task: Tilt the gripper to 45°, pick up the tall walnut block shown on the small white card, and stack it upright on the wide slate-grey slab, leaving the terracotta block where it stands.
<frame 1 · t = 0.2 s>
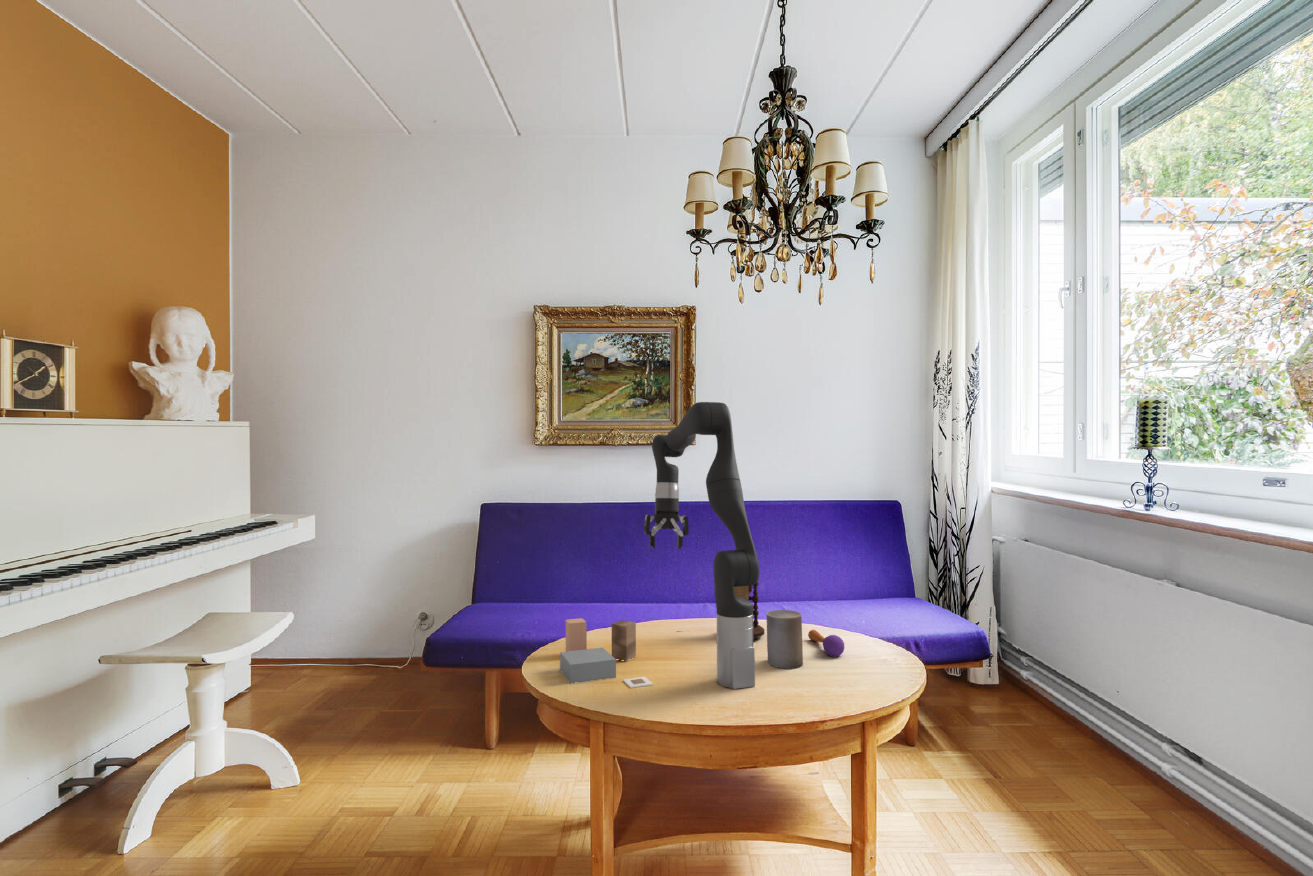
hand: (665, 548, 205), 29 cm above the table, tool pointing down, fingers open, 8 cm apart
purple maraca: (825, 650, 193), on the table
slate slab: (587, 674, 171), on the table
pillar candle: (784, 664, 179), on the table
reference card: (637, 682, 164), on the table
walnut block: (623, 658, 184), on the table
terracotta block: (576, 655, 188), on the table
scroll: (741, 637, 207), on the table
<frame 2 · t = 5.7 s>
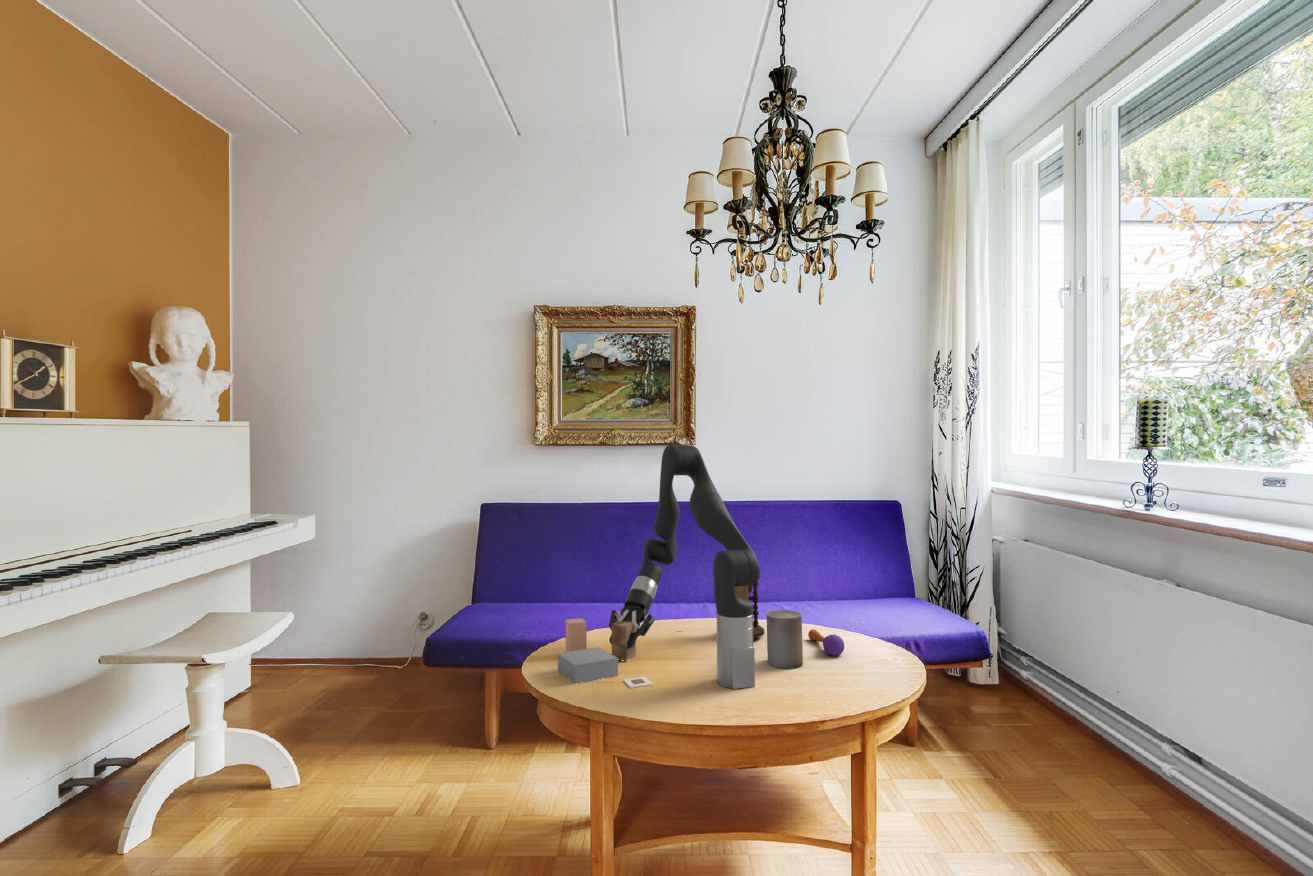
hand: (620, 645, 183), 4 cm above the table, tool tilted 45°, fingers closed on walnut block, 5 cm apart
walnut block: (623, 658, 184), on the table, touching gripper
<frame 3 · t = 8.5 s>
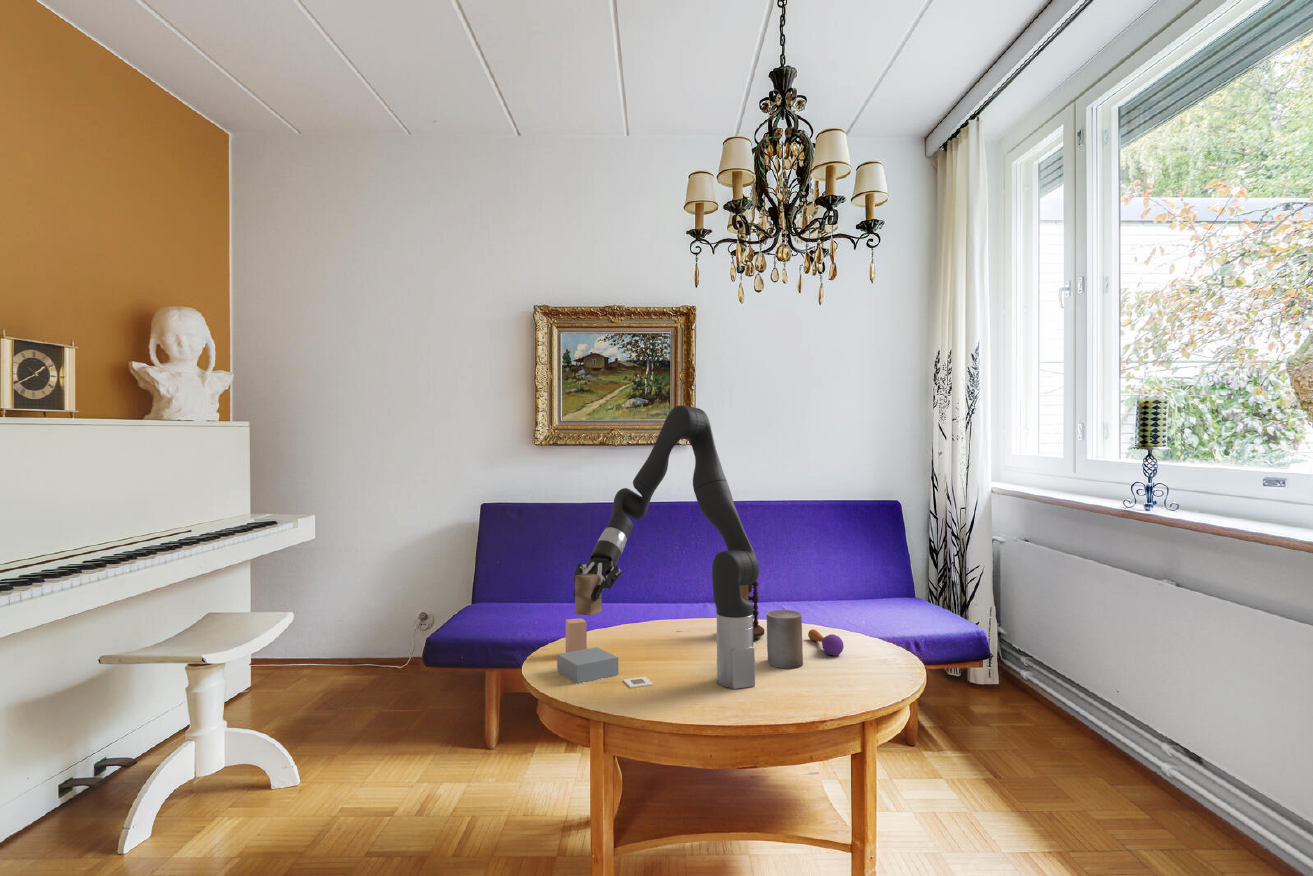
hand: (584, 598, 171), 20 cm above the table, tool tilted 45°, fingers closed on walnut block, 5 cm apart
walnut block: (588, 612, 173), point 16 cm above the table, touching gripper
everything else where it was.
when the fingers open (11 cm above the table, at t = 11.3 s): walnut block drops 2 cm, resting on slate slab.
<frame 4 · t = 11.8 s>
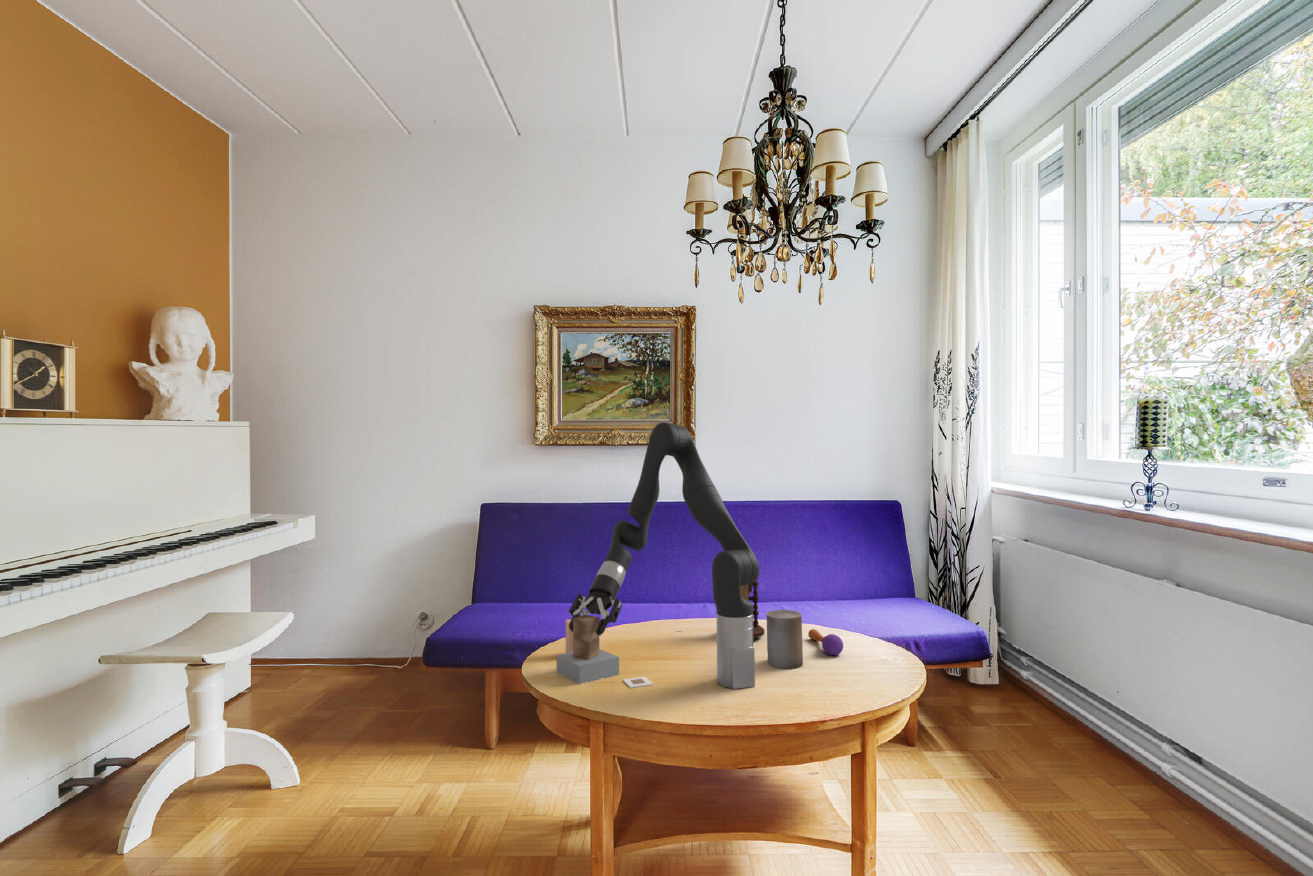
hand: (584, 632, 171), 11 cm above the table, tool tilted 45°, fingers open, 8 cm apart
slate slab: (587, 675, 171), on the table, touching walnut block
walnut block: (586, 655, 171), point 5 cm above the table, touching slate slab
everything else where it was.
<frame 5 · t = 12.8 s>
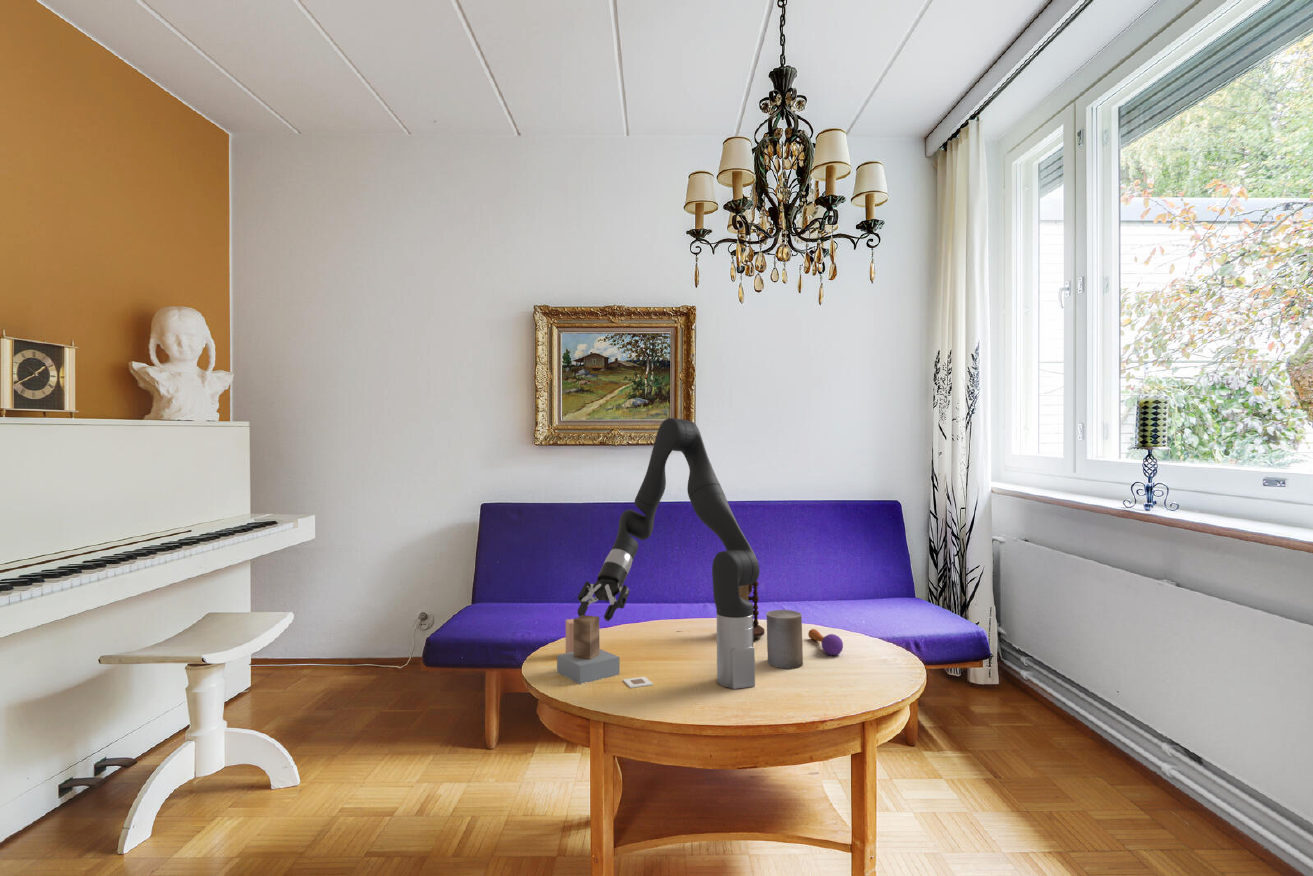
hand: (593, 617, 174), 14 cm above the table, tool tilted 45°, fingers open, 8 cm apart
nothing on the table moved.
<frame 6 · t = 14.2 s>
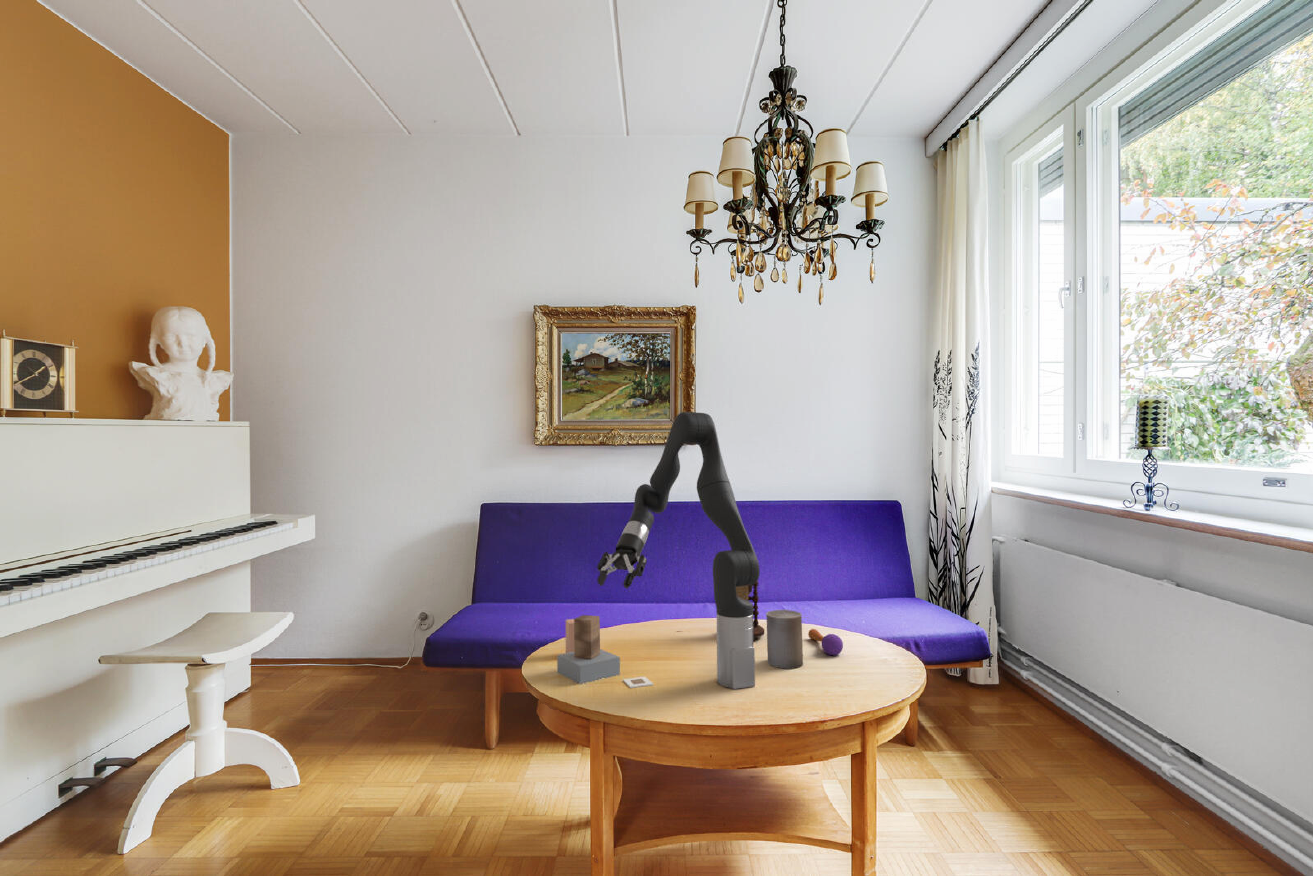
hand: (612, 585, 182), 21 cm above the table, tool tilted 45°, fingers open, 8 cm apart
slate slab: (588, 675, 171), on the table
walnut block: (587, 655, 171), point 5 cm above the table
everything else where it was.
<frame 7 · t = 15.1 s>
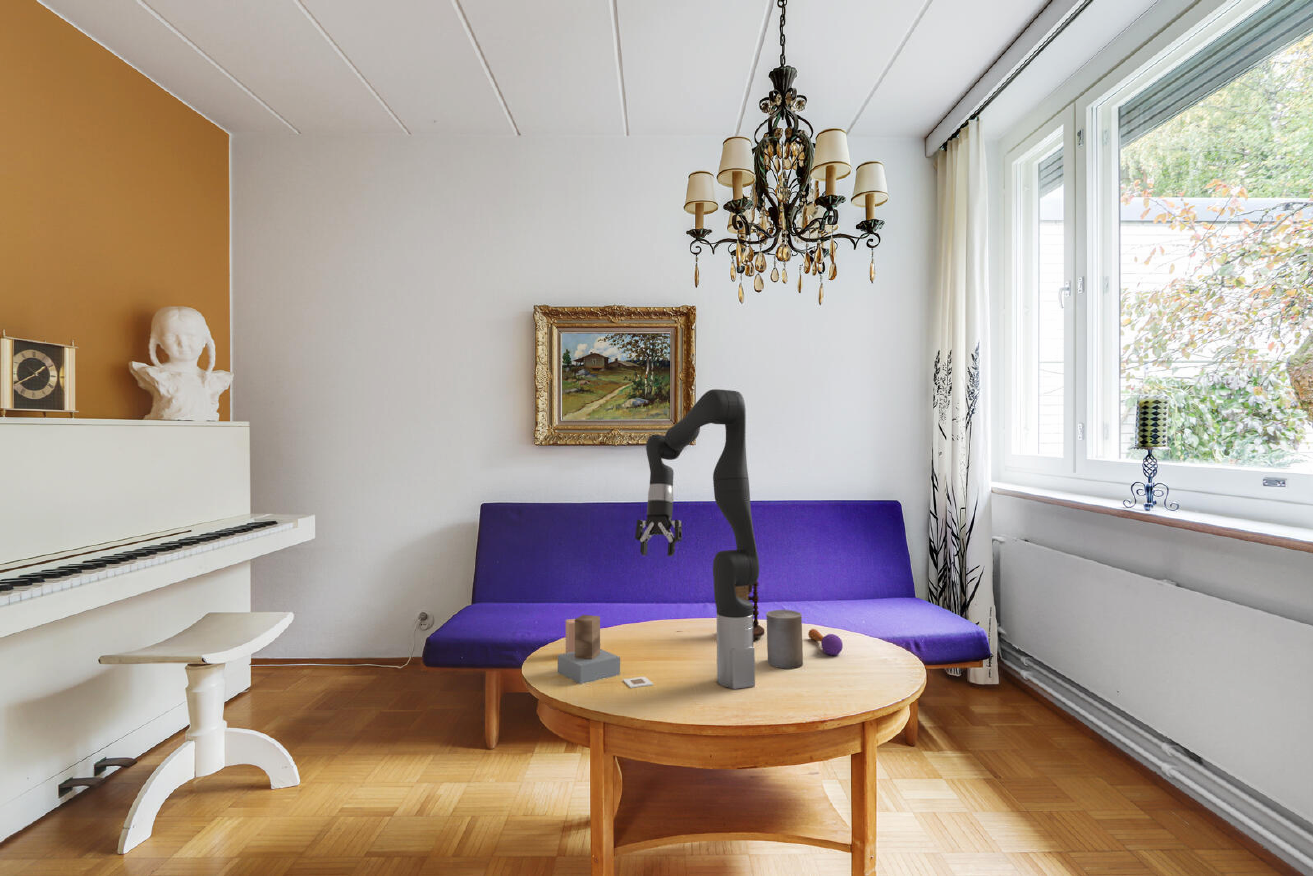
hand: (657, 555, 189), 29 cm above the table, tool pointing down, fingers open, 8 cm apart
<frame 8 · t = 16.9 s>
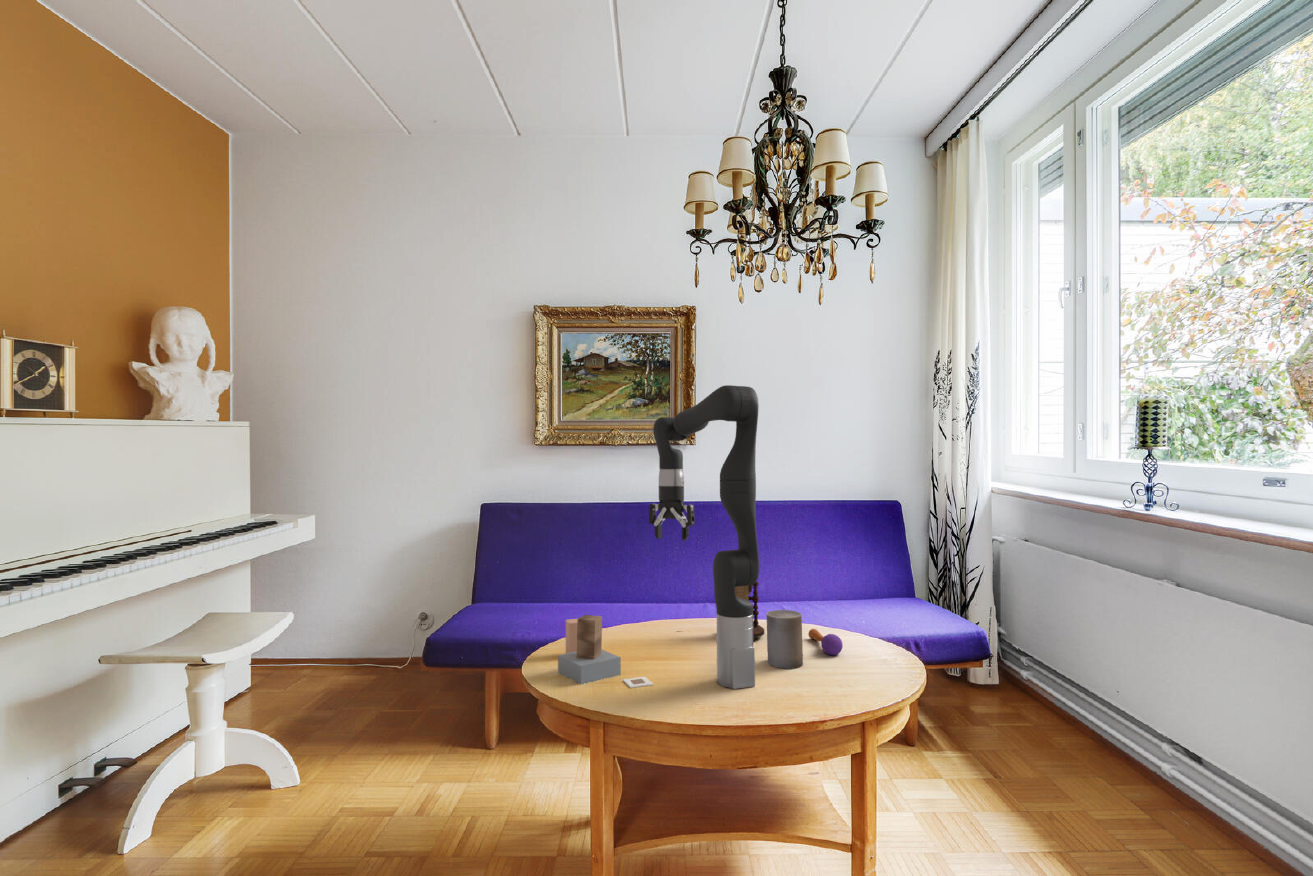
hand: (671, 539, 191), 33 cm above the table, tool pointing down, fingers open, 8 cm apart
slate slab: (589, 675, 171), on the table, touching walnut block
walnut block: (589, 655, 172), point 5 cm above the table, touching slate slab
at the end: walnut block inside the target area on the slate slab (0.2 cm from its centre), point 5.0 cm above the slate slab's base; walnut block tilted 1°; the gripper is holding nothing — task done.
